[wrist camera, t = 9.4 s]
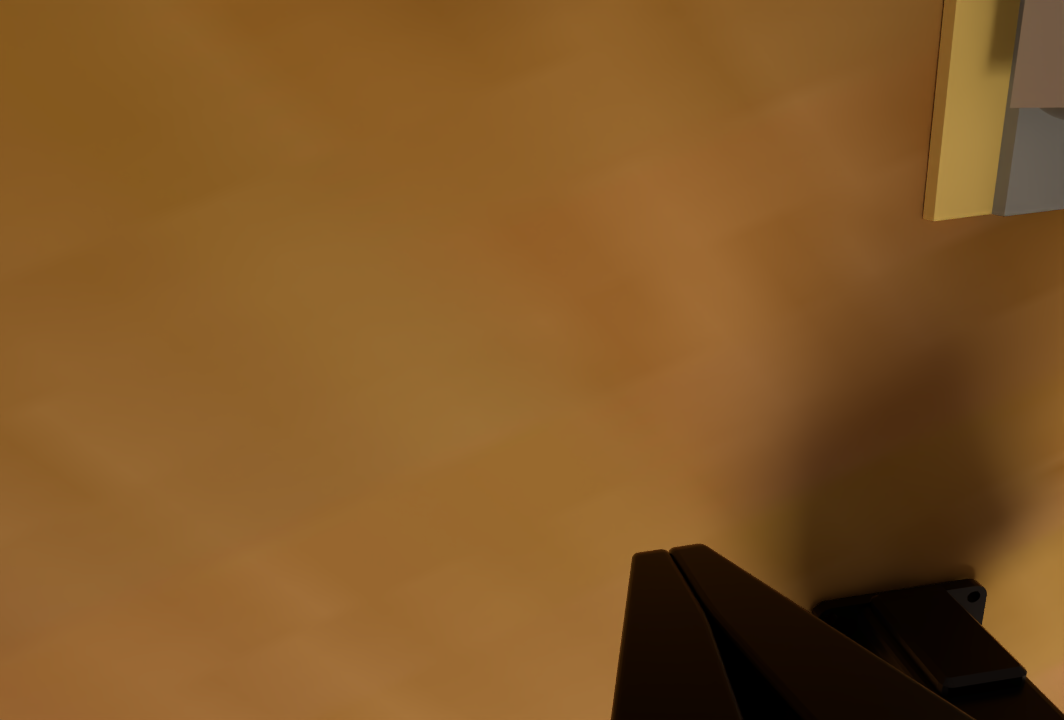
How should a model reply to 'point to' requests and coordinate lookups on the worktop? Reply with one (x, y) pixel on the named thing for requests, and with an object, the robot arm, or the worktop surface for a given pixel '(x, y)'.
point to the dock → (988, 122)
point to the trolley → (1041, 58)
